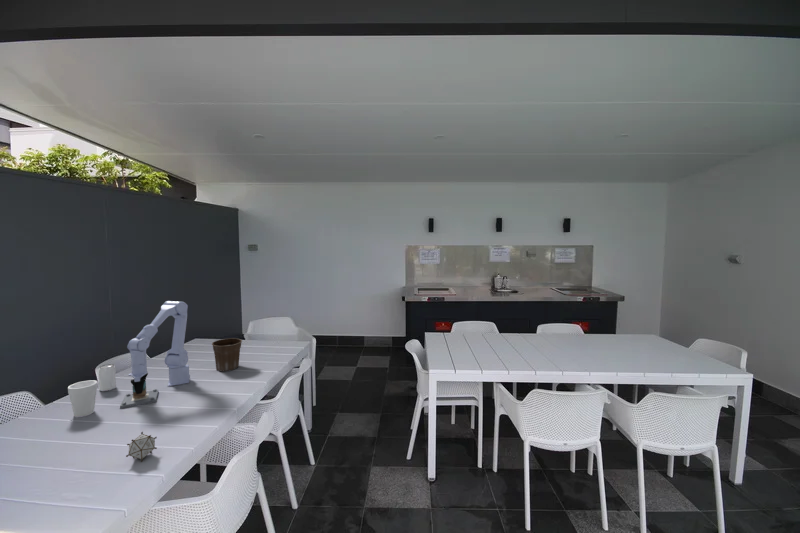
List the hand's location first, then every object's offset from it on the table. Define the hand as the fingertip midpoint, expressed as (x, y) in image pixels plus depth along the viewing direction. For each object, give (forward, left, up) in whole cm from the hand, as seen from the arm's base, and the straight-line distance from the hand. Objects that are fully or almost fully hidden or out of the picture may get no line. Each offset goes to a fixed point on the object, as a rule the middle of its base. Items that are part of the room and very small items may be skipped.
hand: (140, 391), depth 160 cm
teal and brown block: (0, 0, -2) cm, 2 cm away
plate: (0, 0, -4) cm, 4 cm away
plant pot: (-39, -26, -4) cm, 47 cm away
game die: (-7, +56, -4) cm, 56 cm away
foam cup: (+19, +5, -4) cm, 20 cm away
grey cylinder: (+16, -23, -4) cm, 29 cm away
